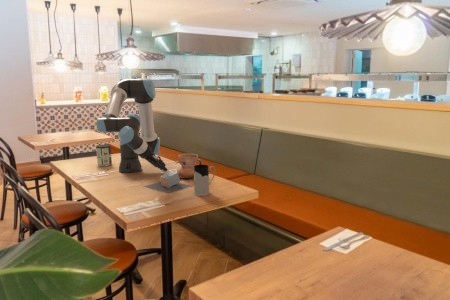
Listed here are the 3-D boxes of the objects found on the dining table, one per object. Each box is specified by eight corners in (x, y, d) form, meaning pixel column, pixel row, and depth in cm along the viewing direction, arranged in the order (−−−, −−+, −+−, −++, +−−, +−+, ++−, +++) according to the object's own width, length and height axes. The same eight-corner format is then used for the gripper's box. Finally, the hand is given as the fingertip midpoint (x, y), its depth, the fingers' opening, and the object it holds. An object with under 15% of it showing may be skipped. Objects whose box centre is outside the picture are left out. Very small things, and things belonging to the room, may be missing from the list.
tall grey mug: (190, 193, 203) (189, 166, 201) (209, 187, 213) (209, 162, 210) (201, 196, 197) (200, 168, 194) (220, 191, 207) (220, 164, 204)
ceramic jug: (180, 181, 227) (179, 158, 224) (171, 176, 239) (171, 154, 236) (207, 178, 235) (207, 156, 232) (197, 173, 248) (197, 152, 245)
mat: (143, 187, 216) (143, 186, 216) (167, 180, 230) (167, 179, 230) (168, 194, 202) (168, 193, 202) (192, 186, 216) (192, 186, 216)
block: (159, 176, 214) (171, 170, 221) (161, 186, 216) (172, 180, 223) (166, 178, 210) (178, 172, 217) (168, 188, 212) (179, 181, 219)
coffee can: (105, 162, 282) (104, 143, 280) (115, 163, 277) (113, 145, 274) (94, 165, 274) (92, 146, 271) (103, 166, 268) (102, 147, 266)
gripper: (131, 153, 202) (157, 177, 217) (146, 156, 193) (172, 180, 209) (138, 142, 205) (164, 166, 220) (154, 144, 196) (179, 169, 212)
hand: (168, 173), depth 215 cm, fingers closed
